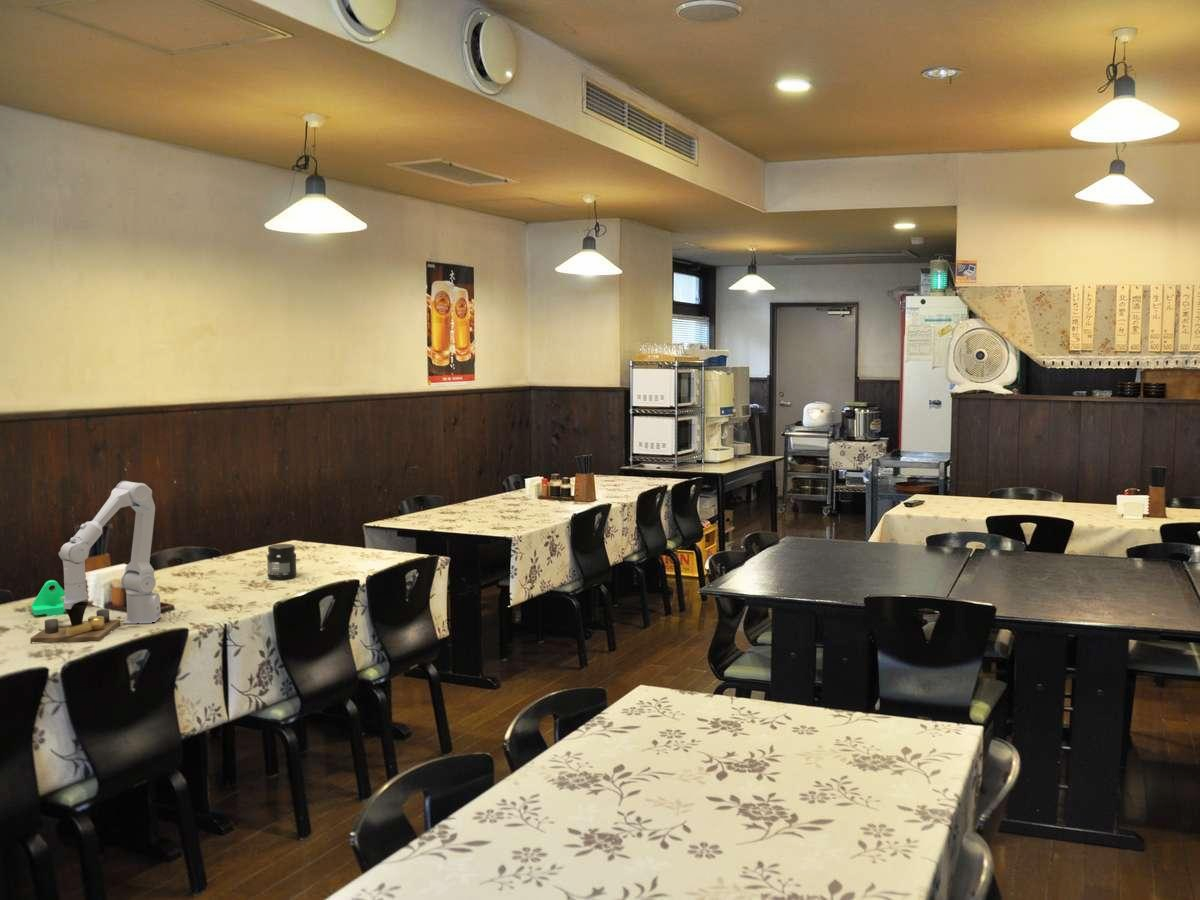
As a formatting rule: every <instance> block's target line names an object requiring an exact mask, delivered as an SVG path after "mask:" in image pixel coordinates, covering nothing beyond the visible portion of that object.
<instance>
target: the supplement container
mask: <svg viewBox="0 0 1200 900" xmlns="http://www.w3.org/2000/svg"><path fill="white" fill-rule="evenodd" d="M295 551H296V546H295V545H294V544H291V543H279V544H278V543H277V544H271V545H269V546H267V552H268V554H267V555H266V559H267V562H266V563H267V564H266V565H267V578H268V579H269V580H271V581H287V580H291V579H294V578H296V577H297V574H298V573H297V554H296V552H295Z"/></svg>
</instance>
